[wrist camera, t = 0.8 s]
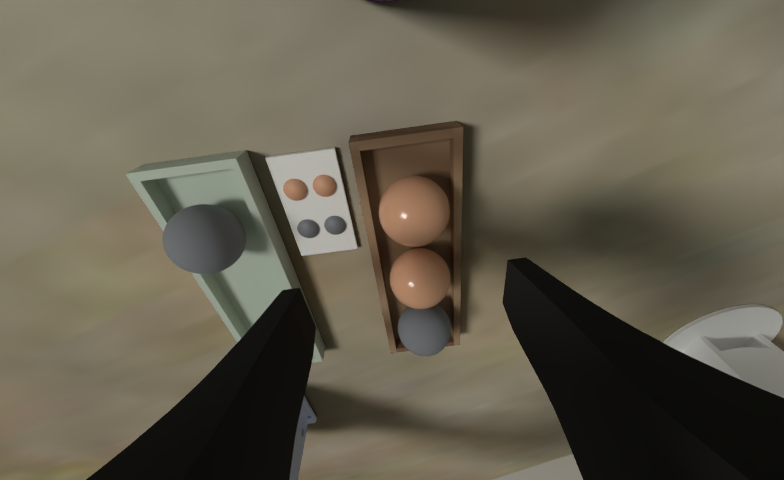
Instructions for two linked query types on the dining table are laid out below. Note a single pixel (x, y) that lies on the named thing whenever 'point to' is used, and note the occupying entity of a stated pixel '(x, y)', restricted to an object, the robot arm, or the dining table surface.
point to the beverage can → (382, 0)
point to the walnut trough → (383, 167)
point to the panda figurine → (737, 344)
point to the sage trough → (256, 222)
